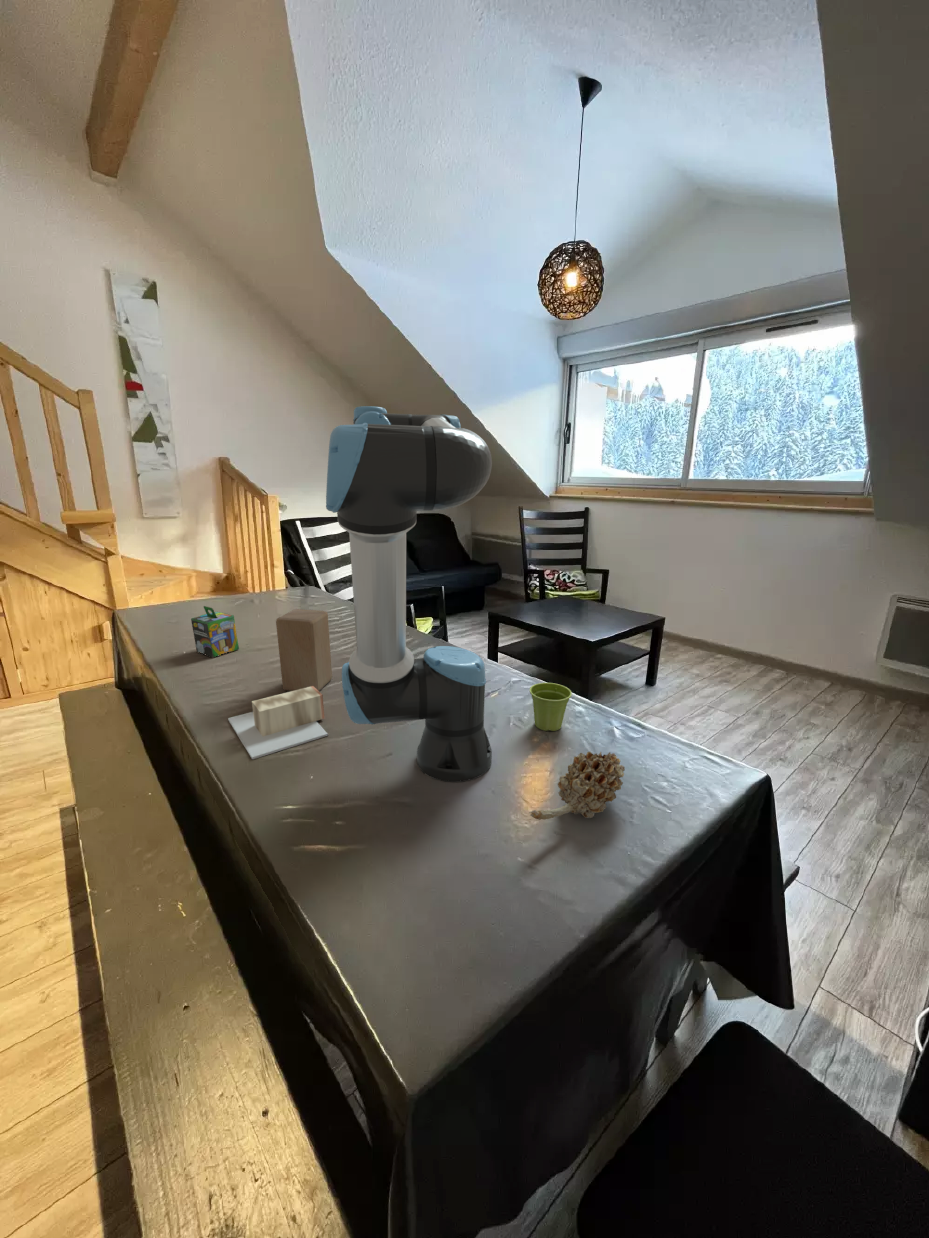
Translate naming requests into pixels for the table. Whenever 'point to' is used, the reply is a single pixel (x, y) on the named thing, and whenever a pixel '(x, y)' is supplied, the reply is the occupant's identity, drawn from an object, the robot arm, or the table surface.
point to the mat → (272, 736)
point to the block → (304, 649)
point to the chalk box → (215, 633)
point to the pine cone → (587, 785)
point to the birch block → (288, 710)
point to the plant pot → (549, 705)
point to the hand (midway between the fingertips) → (377, 577)
